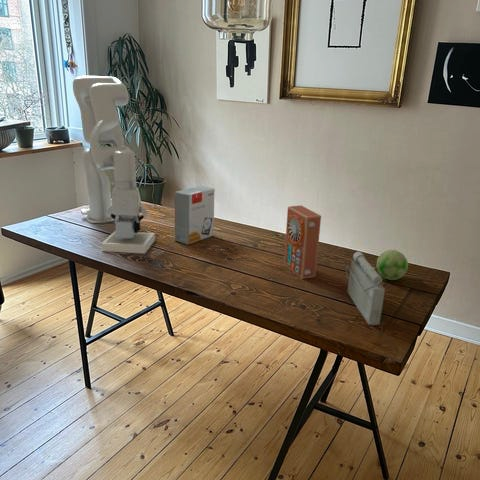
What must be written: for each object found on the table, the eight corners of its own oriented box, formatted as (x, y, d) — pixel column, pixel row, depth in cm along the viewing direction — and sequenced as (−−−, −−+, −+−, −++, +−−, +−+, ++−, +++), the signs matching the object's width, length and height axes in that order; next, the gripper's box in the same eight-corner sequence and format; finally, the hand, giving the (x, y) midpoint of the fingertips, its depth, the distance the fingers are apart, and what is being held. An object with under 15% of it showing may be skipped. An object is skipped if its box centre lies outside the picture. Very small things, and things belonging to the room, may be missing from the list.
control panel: (301, 281, 148) (280, 263, 160) (320, 278, 150) (297, 261, 163) (307, 218, 140) (283, 205, 153) (326, 216, 143) (301, 203, 156)
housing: (125, 228, 176) (124, 212, 174) (140, 229, 176) (139, 213, 173) (116, 237, 167) (115, 220, 164) (132, 238, 166) (131, 221, 164)
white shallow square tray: (102, 251, 167) (101, 243, 166) (115, 238, 180) (114, 230, 179) (144, 253, 166) (144, 245, 165) (154, 240, 179) (154, 233, 178)
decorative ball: (371, 280, 150) (375, 252, 146) (379, 270, 158) (383, 243, 154) (401, 288, 145) (406, 259, 142) (408, 277, 153) (413, 249, 150)
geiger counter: (391, 278, 118) (360, 244, 142) (367, 278, 118) (340, 244, 141) (383, 325, 123) (354, 284, 147) (360, 325, 123) (335, 284, 146)
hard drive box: (188, 245, 175) (187, 195, 168) (174, 241, 179) (173, 191, 172) (214, 235, 186) (214, 188, 179) (200, 231, 191) (200, 184, 184)
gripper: (98, 185, 162) (102, 233, 168) (146, 188, 161) (148, 235, 167) (106, 181, 169) (109, 227, 175) (151, 183, 168) (153, 229, 174)
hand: (128, 230), depth 171 cm, fingers closed on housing, 6 cm apart
